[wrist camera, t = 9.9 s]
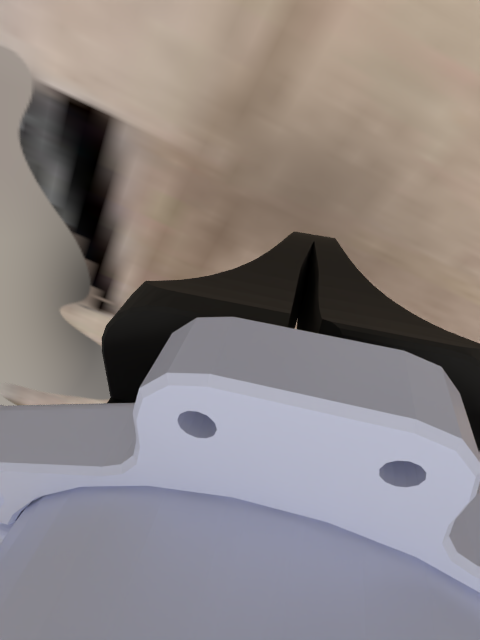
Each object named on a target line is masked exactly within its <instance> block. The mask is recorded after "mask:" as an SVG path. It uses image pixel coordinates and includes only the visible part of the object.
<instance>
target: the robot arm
mask: <svg viewBox="0 0 480 640" xmlns="http://www.w3.org/2000/svg"><path fill="white" fill-rule="evenodd" d="M297 318H298V321H297ZM296 322H297V329H294V328H295V325H296ZM102 354H103V359H104V364H105V370H106V375H107V380H108V385H109V391H110V396H111V398H110V400H109V401H108V403H104V404H61V405H17V406H3V405H0V640H480V344H479V343H476V342H474V341H471V340H469V339H466V338H464V337H461V336H458V335H456V334H453V333H451V332H448V331H446V330H444V329H441V328H439V327H437V326H435V325H433V324H431V323H429V322H427V321H425V320H423V319H421V318H420V317H418V316H416V315H414V314H412V313H411V312H409V311H407V310H406V309H404V308H403V307H401V306H400V305H398V304H397V303H395V302H394V301H392V300H391V299H389V298H388V297H387V296H385V295H384V294H383V293H382V292H381V291H379V290H378V289H377V288H376V287H375V286H373V285H372V284H371V283H370V282H369V281H368V280H367V279H366V278H365V277H364V276H363V274H362V273H361V272H360V271H359V270H358V269H357V268H356V267H355V265H354V264H353V263H352V262H351V260H350V259H349V258H348V256H347V255H346V254H345V252H344V251H343V249H342V248H341V246H340V245H339V243H338V242H337V240H336V239H335V238H330V237H324V236H318V235H312V234H306V233H300V232H293V233H292V234H290V235H289V236H288V237H287V238H285V239H284V240H283V241H282V242H281V243H279V244H278V245H277V246H275V247H274V248H273V249H271V250H270V251H268V252H267V253H265V254H264V255H262V256H260V257H259V258H257V259H255V260H253V261H251V262H249V263H247V264H245V265H242V266H240V267H237V268H235V269H232V270H228V271H225V272H221V273H218V274H214V275H210V276H205V277H199V278H192V279H184V280H169V281H145V282H144V283H143V284H142V285H141V286H140V287H139V288H138V289H137V290H136V291H135V292H134V293H133V294H132V295H131V296H130V298H129V299H128V300H127V301H126V302H125V304H124V305H123V306H122V307H121V308H120V310H119V311H118V312H117V313H116V314H115V316H114V317H113V318H112V319H111V320H110V322H109V323H108V324H107V325H106V328H105V331H104V333H103V336H102Z"/></svg>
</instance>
